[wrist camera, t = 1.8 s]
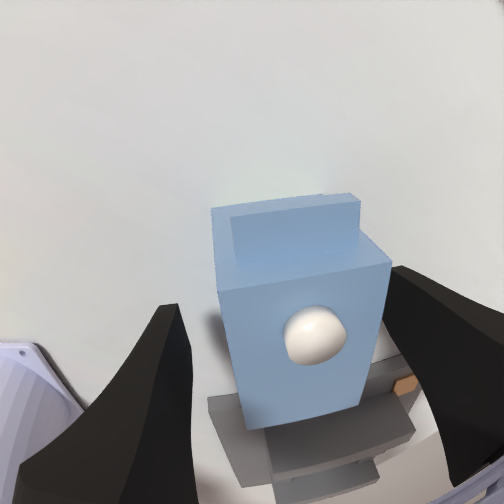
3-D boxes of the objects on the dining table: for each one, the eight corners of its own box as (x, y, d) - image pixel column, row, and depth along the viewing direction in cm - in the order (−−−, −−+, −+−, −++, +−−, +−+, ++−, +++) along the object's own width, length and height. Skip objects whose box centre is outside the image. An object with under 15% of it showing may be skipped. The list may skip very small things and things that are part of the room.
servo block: (235, 351, 14) (252, 457, 9) (206, 174, 10) (208, 254, 5) (317, 337, 14) (358, 432, 10) (320, 161, 10) (414, 224, 6)
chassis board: (240, 479, 23) (246, 518, 19) (207, 397, 15) (213, 467, 12) (381, 444, 24) (396, 479, 20) (430, 344, 17) (464, 392, 13)
